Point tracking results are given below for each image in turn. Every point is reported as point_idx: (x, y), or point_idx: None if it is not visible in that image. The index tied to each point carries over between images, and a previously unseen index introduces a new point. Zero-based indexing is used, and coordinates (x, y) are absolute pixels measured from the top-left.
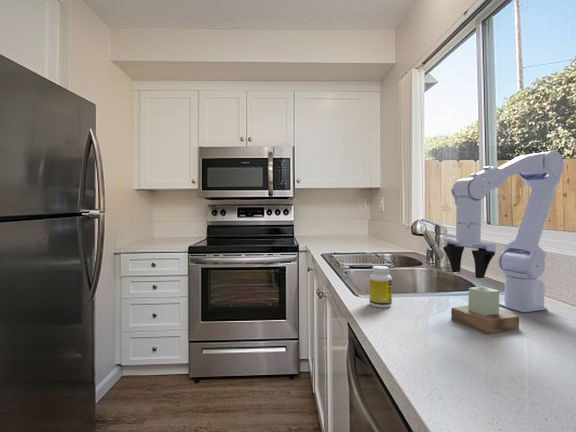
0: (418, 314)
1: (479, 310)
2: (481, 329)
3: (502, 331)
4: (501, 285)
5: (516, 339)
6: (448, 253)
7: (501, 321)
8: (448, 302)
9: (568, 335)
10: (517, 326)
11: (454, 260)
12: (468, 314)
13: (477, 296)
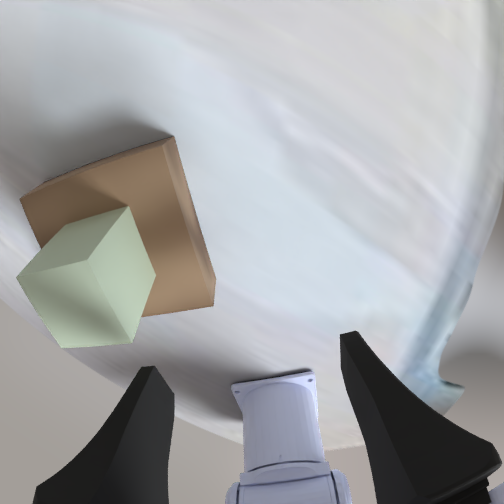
0: (257, 30)
1: (75, 225)
2: (50, 180)
3: None
4: None
5: (26, 242)
6: (422, 440)
7: None
8: (383, 253)
9: (81, 359)
10: None
11: (371, 413)
12: (76, 174)
13: (57, 253)
